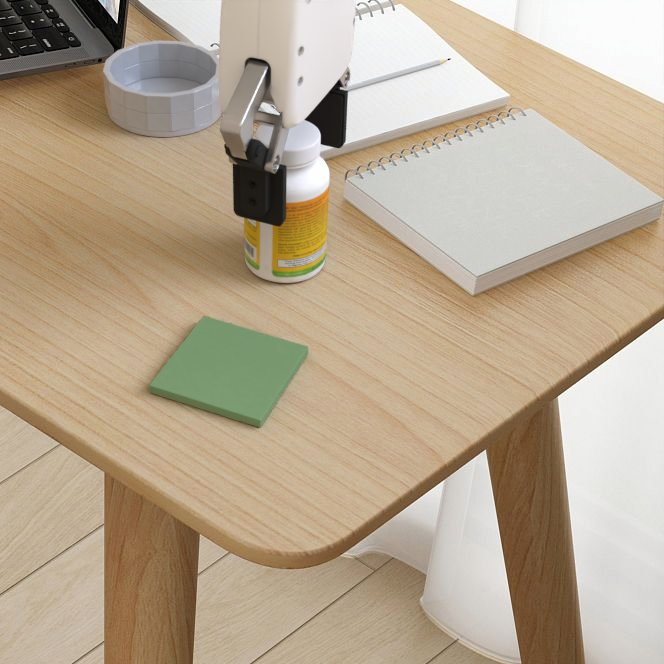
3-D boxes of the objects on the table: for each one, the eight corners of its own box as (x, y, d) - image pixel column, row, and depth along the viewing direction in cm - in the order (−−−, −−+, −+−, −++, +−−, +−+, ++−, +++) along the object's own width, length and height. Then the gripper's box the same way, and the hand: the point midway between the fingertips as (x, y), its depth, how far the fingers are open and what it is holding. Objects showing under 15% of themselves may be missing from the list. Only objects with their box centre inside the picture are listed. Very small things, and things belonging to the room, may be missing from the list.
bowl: (85, 120, 92) (81, 79, 90) (142, 71, 98) (139, 31, 96) (190, 148, 90) (189, 106, 87) (241, 95, 96) (241, 55, 94)
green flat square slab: (149, 392, 69) (148, 385, 69) (203, 322, 74) (203, 315, 74) (260, 428, 67) (260, 420, 67) (308, 353, 72) (308, 346, 72)
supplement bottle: (339, 252, 80) (347, 125, 74) (301, 295, 77) (306, 165, 70) (269, 228, 82) (271, 102, 76) (228, 269, 78) (227, 140, 72)
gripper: (294, -151, 71) (291, 104, 82) (156, -49, 59) (174, 237, 70) (413, -131, 69) (394, 128, 80) (297, -21, 57) (292, 269, 68)
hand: (292, 178), depth 75 cm, fingers open, 9 cm apart
